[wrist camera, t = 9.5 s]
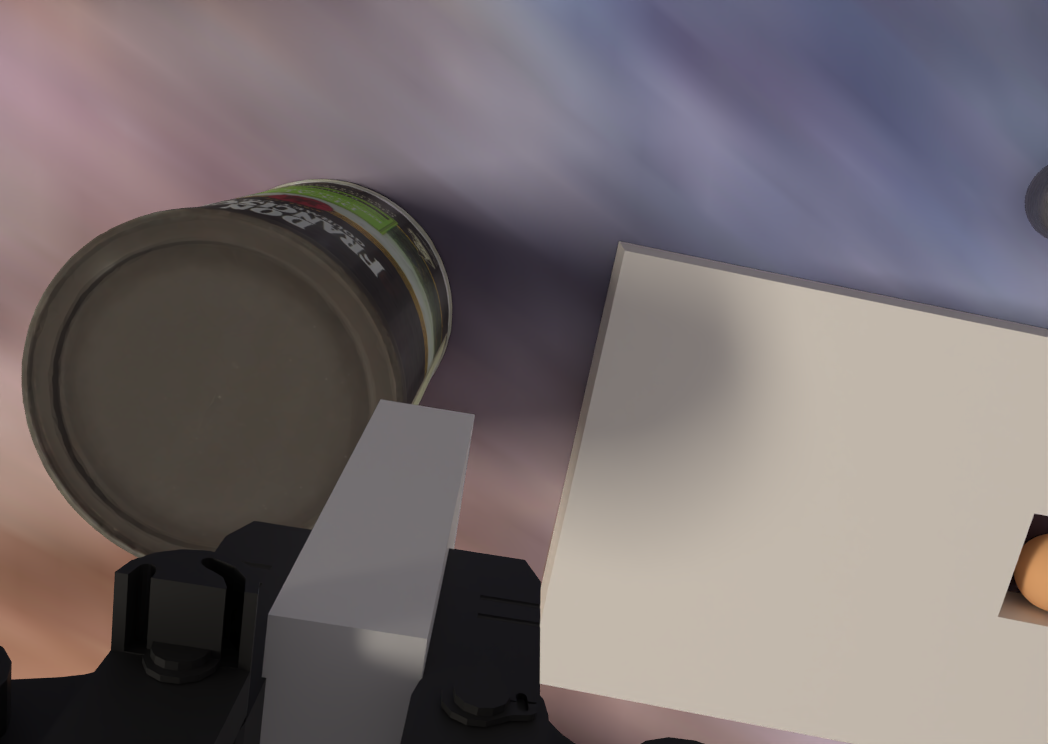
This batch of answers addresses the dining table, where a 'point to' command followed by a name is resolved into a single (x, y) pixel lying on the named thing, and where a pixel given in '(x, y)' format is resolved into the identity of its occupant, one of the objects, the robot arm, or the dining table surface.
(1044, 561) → the ball
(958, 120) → the dining table surface
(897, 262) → the dining table surface
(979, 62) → the dining table surface
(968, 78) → the dining table surface
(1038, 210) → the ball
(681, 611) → the hole board
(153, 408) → the coffee can
